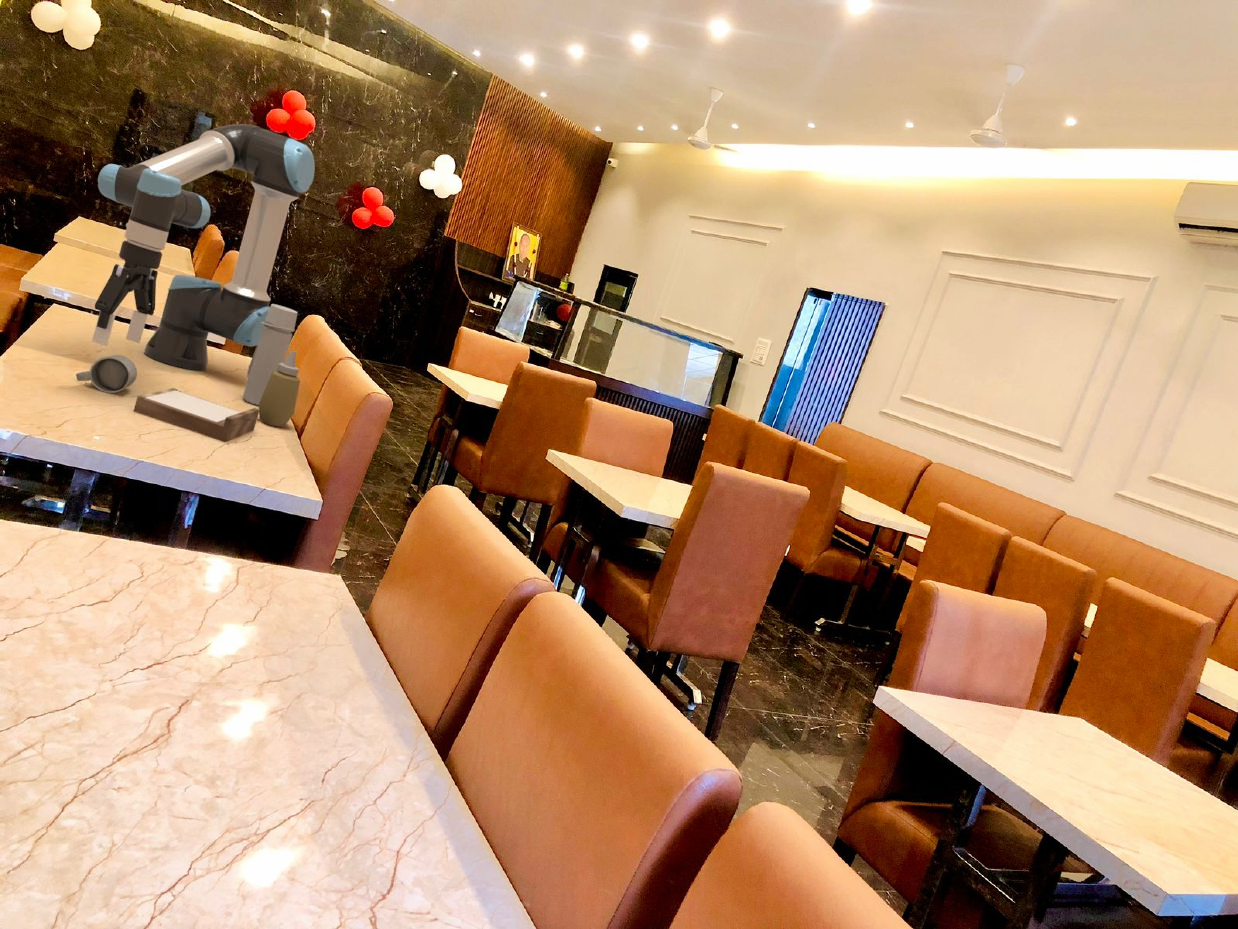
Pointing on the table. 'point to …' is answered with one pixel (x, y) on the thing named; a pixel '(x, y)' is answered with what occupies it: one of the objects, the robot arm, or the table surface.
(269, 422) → the squeeze bottle
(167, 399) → the mat
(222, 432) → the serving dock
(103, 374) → the ceramic mug
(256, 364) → the water bottle
